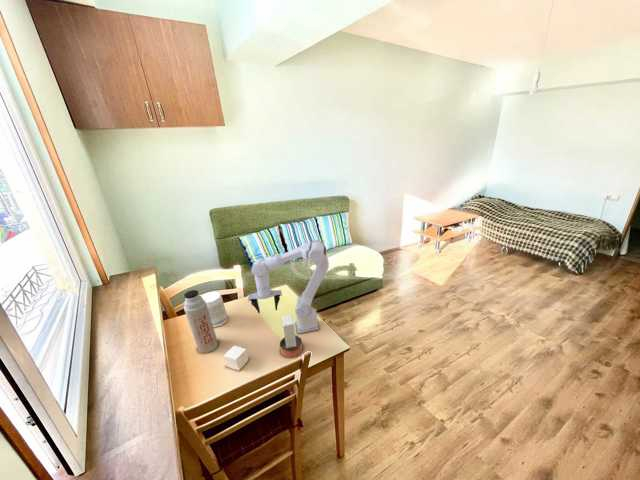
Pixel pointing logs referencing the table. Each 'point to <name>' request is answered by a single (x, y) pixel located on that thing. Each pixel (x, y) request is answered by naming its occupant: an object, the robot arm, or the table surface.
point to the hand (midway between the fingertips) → (267, 310)
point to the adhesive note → (236, 357)
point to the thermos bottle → (200, 322)
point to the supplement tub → (215, 308)
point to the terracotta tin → (293, 350)
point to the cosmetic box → (289, 331)
